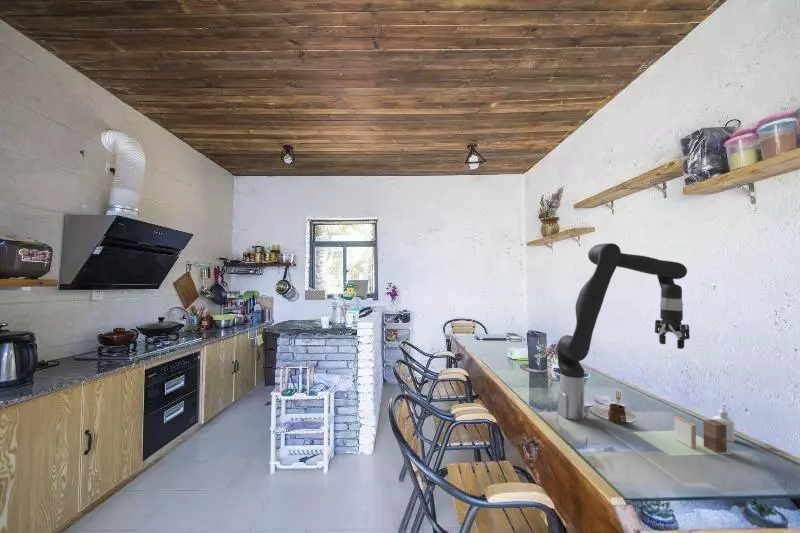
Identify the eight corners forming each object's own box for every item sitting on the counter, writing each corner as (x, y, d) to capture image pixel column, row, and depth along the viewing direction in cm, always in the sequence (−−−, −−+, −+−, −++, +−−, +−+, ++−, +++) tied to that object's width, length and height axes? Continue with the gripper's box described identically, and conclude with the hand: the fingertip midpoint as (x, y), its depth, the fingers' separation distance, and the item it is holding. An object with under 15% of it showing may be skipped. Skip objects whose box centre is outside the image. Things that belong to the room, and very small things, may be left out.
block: (715, 452, 109) (715, 425, 109) (703, 446, 113) (703, 419, 113) (726, 452, 109) (726, 425, 110) (714, 445, 113) (714, 419, 114)
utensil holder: (606, 423, 132) (606, 393, 132) (610, 418, 136) (610, 389, 136) (624, 428, 128) (624, 397, 128) (627, 423, 132) (627, 393, 132)
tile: (692, 449, 111) (692, 425, 111) (673, 438, 118) (673, 416, 118) (695, 448, 111) (695, 425, 111) (677, 438, 118) (677, 416, 118)
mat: (670, 459, 107) (670, 455, 107) (632, 434, 123) (632, 431, 123) (732, 456, 109) (732, 453, 109) (687, 432, 124) (687, 430, 124)
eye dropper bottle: (720, 436, 122) (720, 404, 122) (737, 444, 116) (737, 410, 117) (709, 436, 122) (709, 404, 122) (725, 444, 116) (725, 410, 116)
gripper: (649, 306, 149) (649, 342, 149) (678, 310, 135) (678, 350, 135) (664, 307, 150) (664, 342, 150) (695, 310, 136) (695, 350, 135)
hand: (671, 346), depth 142 cm, fingers open, 8 cm apart
